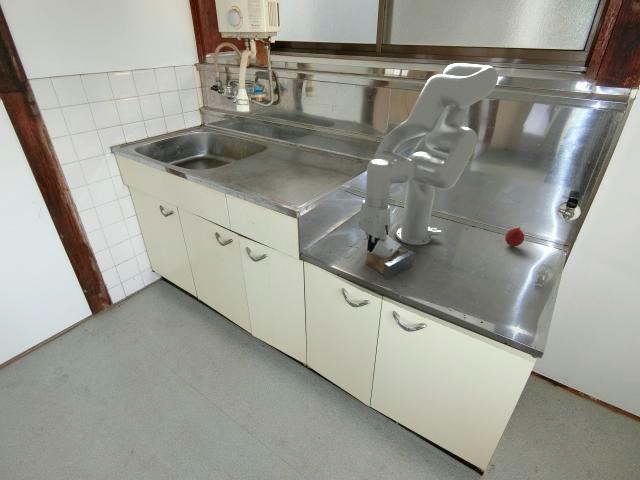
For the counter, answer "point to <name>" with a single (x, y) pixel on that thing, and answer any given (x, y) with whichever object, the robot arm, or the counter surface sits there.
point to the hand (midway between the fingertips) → (372, 250)
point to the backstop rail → (398, 264)
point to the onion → (514, 237)
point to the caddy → (379, 263)
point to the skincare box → (386, 248)
